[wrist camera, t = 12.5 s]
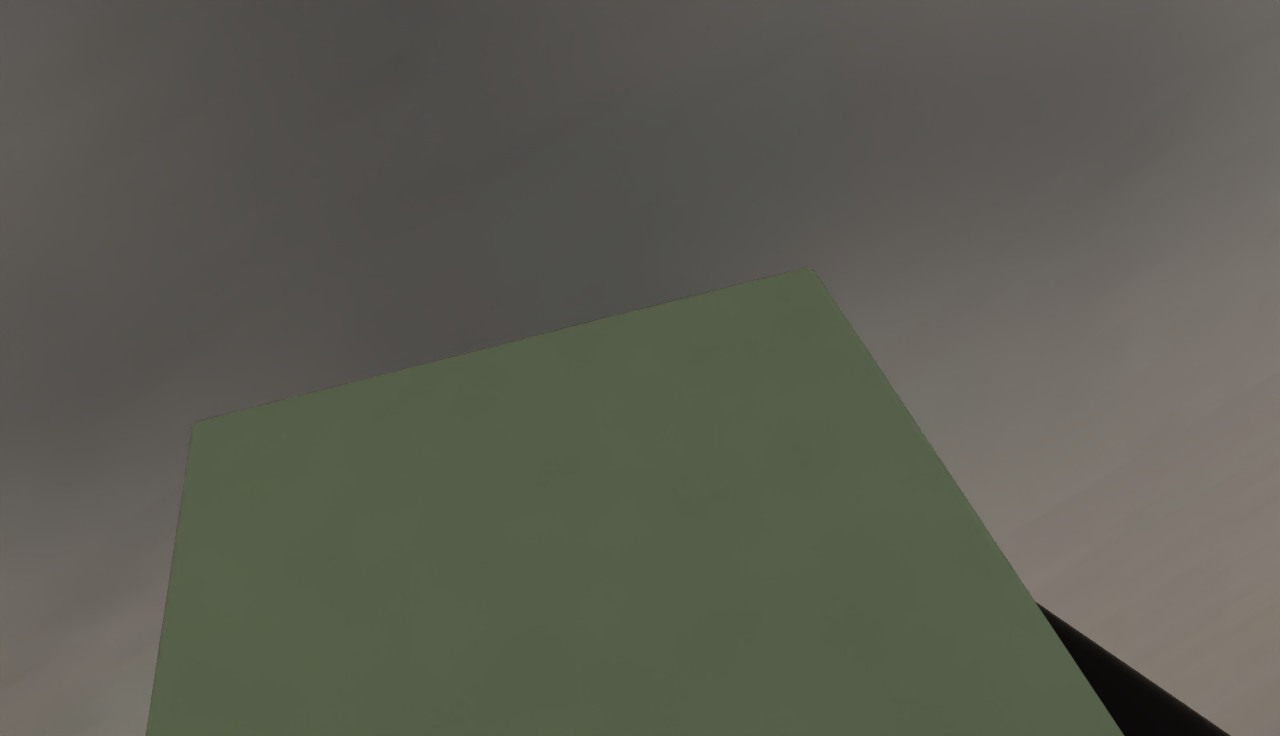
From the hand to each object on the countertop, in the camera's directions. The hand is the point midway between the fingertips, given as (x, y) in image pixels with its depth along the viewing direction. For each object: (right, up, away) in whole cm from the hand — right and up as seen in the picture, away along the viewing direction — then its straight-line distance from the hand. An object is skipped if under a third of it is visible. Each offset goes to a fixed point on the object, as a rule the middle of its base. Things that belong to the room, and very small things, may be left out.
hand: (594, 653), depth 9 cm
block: (0, +1, +1) cm, 1 cm away
